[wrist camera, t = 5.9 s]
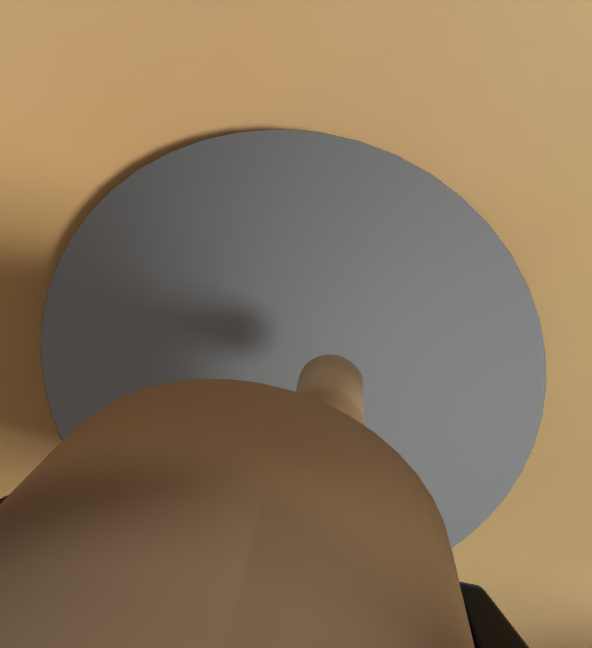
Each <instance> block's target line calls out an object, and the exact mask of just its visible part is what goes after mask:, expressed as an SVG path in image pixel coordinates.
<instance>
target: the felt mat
mask: <svg viewBox="0 0 592 648" xmlns="http://www.w3.org/2000/svg"><path fill="white" fill-rule="evenodd" d="M331 354H332V355H338V356H342V357H344V358H346V359H348V360H350V361H351V362H352V363H353V364H354V365H355V366H356V367H357V368H358V370H359V371H360V373H361V376H362V379H363V400H364V426H366V427H367V428H369V429H370V430H372V431H373V432H375V433H376V434H377V435H378V436H379V437H381V438H382V439H383V440H384V441H385V442H386V443H388V444H389V445H390V446H391V447H392V448H393V449H394V450H396V451H397V452H398V453H399V454H400V455H401V456H402V458H403V459H404V460H405V461H406V462H407V463H408V464H409V465H410V467H411V468H412V469H413V470H414V471H415V472H416V473H417V475H418V476H419V478H420V479H421V481H422V482H423V484H424V485H425V487H426V488H427V490H428V491H429V493H430V494H431V496H432V497H433V499H434V501H435V503H436V506H437V508H438V510H439V512H440V514H441V516H442V519H443V521H444V524H445V528H446V531H447V535H448V538H449V542H450V545H451V548H452V547H453V546H455V545H456V544H458V543H459V542H461V541H462V540H463V539H465V538H466V537H467V536H468V535H470V534H471V533H472V532H473V531H474V530H475V529H476V528H477V527H478V526H480V525H481V524H482V523H483V522H484V521H485V520H486V519H487V518H488V517H489V516H490V515H491V514H492V512H493V511H494V510H495V509H496V508H497V506H498V505H499V504H500V503H501V502H502V501H503V499H504V498H505V497H506V496H507V494H508V493H509V491H510V489H511V488H512V486H513V485H514V483H515V482H516V480H517V478H518V477H519V475H520V474H521V472H522V470H523V468H524V466H525V463H526V461H527V459H528V457H529V454H530V452H531V450H532V448H533V446H534V443H535V439H536V436H537V432H538V429H539V425H540V422H541V418H542V414H543V406H544V398H545V390H546V359H545V347H544V342H543V336H542V331H541V326H540V320H539V317H538V314H537V311H536V308H535V305H534V302H533V299H532V297H531V294H530V291H529V288H528V285H527V283H526V282H525V280H524V278H523V276H522V274H521V272H520V270H519V268H518V266H517V265H516V263H515V261H514V259H513V257H512V255H511V254H510V252H509V251H508V249H507V248H506V247H505V245H504V244H503V243H502V241H501V240H500V239H499V237H498V236H497V235H496V233H495V232H494V231H493V229H492V228H491V227H490V225H489V224H488V223H487V222H486V221H485V220H484V219H483V218H482V217H481V216H480V215H479V214H478V213H477V212H476V211H475V210H474V209H473V208H472V207H471V206H470V205H469V204H468V203H467V202H466V201H465V200H464V199H463V198H462V197H461V196H459V195H458V194H457V193H455V192H454V191H453V190H451V189H450V188H449V187H447V186H446V185H445V184H443V183H442V182H441V181H439V180H438V179H437V178H435V177H434V176H433V175H431V174H430V173H428V172H426V171H424V170H423V169H421V168H419V167H417V166H415V165H413V164H412V163H410V162H408V161H406V160H404V159H402V158H401V157H399V156H397V155H395V154H392V153H389V152H387V151H384V150H381V149H379V148H376V147H373V146H371V145H368V144H365V143H363V142H360V141H356V140H352V139H347V138H343V137H338V136H334V135H330V134H325V133H321V132H309V131H296V130H284V129H276V130H261V131H245V132H238V133H233V134H228V135H224V136H219V137H214V138H209V139H205V140H202V141H199V142H196V143H194V144H191V145H188V146H186V147H183V148H180V149H177V150H175V151H172V152H169V153H168V154H166V155H164V156H162V157H160V158H159V159H157V160H155V161H153V162H151V163H149V164H148V165H146V166H144V167H142V168H140V169H139V170H137V171H136V172H135V173H133V174H132V175H131V176H129V177H128V178H127V179H125V180H124V181H123V182H121V183H120V184H119V185H118V186H116V187H115V188H114V189H112V190H111V191H110V192H109V193H108V194H107V195H106V196H105V197H104V198H103V199H102V200H101V201H100V203H99V204H98V205H97V206H96V207H95V208H94V209H93V210H92V211H91V212H90V213H89V214H88V215H87V217H86V218H85V220H84V221H83V222H82V224H81V225H80V227H79V228H78V229H77V231H76V232H75V234H74V235H73V236H72V238H71V239H70V241H69V243H68V245H67V247H66V249H65V251H64V253H63V255H62V257H61V259H60V261H59V263H58V265H57V267H56V269H55V273H54V276H53V279H52V282H51V285H50V288H49V291H48V294H47V297H46V303H45V309H44V315H43V321H42V332H41V360H42V369H43V378H44V385H45V389H46V393H47V397H48V401H49V406H50V410H51V413H52V415H53V418H54V421H55V423H56V426H57V428H58V431H59V433H60V436H61V438H62V440H64V439H65V438H66V437H67V436H68V435H69V434H70V433H71V432H72V431H73V430H74V429H75V428H76V427H77V426H79V425H80V424H81V423H82V422H83V421H85V420H86V419H87V418H88V417H89V416H91V415H92V414H93V413H95V412H96V411H98V410H100V409H101V408H103V407H105V406H106V405H108V404H110V403H111V402H113V401H115V400H117V399H120V398H122V397H124V396H127V395H129V394H132V393H134V392H136V391H139V390H142V389H146V388H150V387H153V386H157V385H161V384H165V383H170V382H178V381H186V380H194V379H232V380H240V381H249V382H257V383H263V384H267V385H271V386H275V387H279V388H283V389H287V390H291V391H294V392H296V388H297V384H298V380H299V376H300V373H301V371H302V369H303V367H304V366H305V365H306V364H307V363H308V362H309V361H310V360H312V359H314V358H315V357H318V356H321V355H331Z"/></svg>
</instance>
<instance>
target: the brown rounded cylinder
mask: <svg viewBox="0 0 592 648" xmlns="http://www.w3.org/2000/svg"><path fill="white" fill-rule="evenodd" d="M0 648H475V647H474V642H473V638H472V634H471V630H470V626H469V621H468V617H467V613H466V609H465V604H464V600H463V596H462V592H461V588H460V583H459V579H458V575H457V571H456V566H455V562H454V558H453V554H452V550H451V545H450V542H449V538H448V535H447V531H446V528H445V524H444V521H443V519H442V516H441V514H440V512H439V510H438V508H437V506H436V503H435V501H434V499H433V497H432V496H431V494H430V493H429V491H428V490H427V488H426V487H425V485H424V484H423V482H422V481H421V479H420V478H419V476H418V475H417V473H416V472H415V471H414V470H413V469H412V468H411V467H410V465H409V464H408V463H407V462H406V461H405V460H404V459H403V458H402V456H401V455H400V454H399V453H398V452H397V451H396V450H394V449H393V448H392V447H391V446H390V445H389V444H388V443H386V442H385V441H384V440H383V439H382V438H381V437H379V436H378V435H377V434H376V433H375V432H373V431H372V430H370V429H369V428H367V427H366V426H364V400H363V379H362V376H361V373H360V371H359V370H358V368H357V367H356V366H355V365H354V364H353V363H352V362H351V361H350V360H348V359H346V358H344V357H342V356H338V355H332V354H331V355H321V356H318V357H315V358H314V359H312V360H310V361H309V362H308V363H307V364H306V365H305V366H304V367H303V369H302V371H301V373H300V376H299V380H298V384H297V388H296V392H294V391H291V390H287V389H283V388H279V387H275V386H271V385H267V384H263V383H257V382H249V381H240V380H232V379H194V380H186V381H178V382H170V383H165V384H161V385H157V386H153V387H150V388H146V389H142V390H139V391H136V392H134V393H132V394H129V395H127V396H124V397H122V398H120V399H117V400H115V401H113V402H111V403H110V404H108V405H106V406H105V407H103V408H101V409H100V410H98V411H96V412H95V413H93V414H92V415H91V416H89V417H88V418H87V419H86V420H85V421H83V422H82V423H81V424H80V425H79V426H77V427H76V428H75V429H74V430H73V431H72V432H71V433H70V434H69V435H68V436H67V437H66V438H65V439H64V440H63V441H62V442H61V443H60V444H59V445H58V446H57V447H56V448H55V449H54V450H53V451H52V452H51V453H50V454H49V455H48V456H47V457H46V458H45V459H44V460H43V461H42V462H41V463H40V464H39V465H38V466H37V467H36V468H35V469H34V470H33V471H32V472H31V473H30V474H29V475H28V476H27V477H26V478H25V479H24V480H23V481H22V482H21V483H20V484H19V486H18V487H17V488H16V489H15V490H14V491H13V492H12V493H11V494H10V495H9V496H8V497H7V498H6V499H5V500H4V501H3V502H2V503H1V504H0Z"/></svg>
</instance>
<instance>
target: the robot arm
mask: <svg viewBox="0 0 592 648" xmlns="http://www.w3.org/2000/svg"><path fill="white" fill-rule="evenodd" d="M8 496H9V495H8ZM8 496H5V497H3V498H1V499H0V504H1V503H2V502H3V501H4V500H5V499H6V498H7V497H8ZM459 583H460V588H461V592H462V596H463V600H464V604H465V609H466V613H467V617H468V621H469V626H470V630H471V634H472V638H473V642H474V647H475V648H529V647H528V645H527V644H526V643H525V642H524V640H523V639H522V638H521V636H520V635H519V634H518V633H517V631H516V630H515V629H514V627H513V626H512V625H511V624H510V622H509V621H508V620H507V618H506V617H505V616H504V615H503V613H502V612H501V611H500V609H499V608H498V607H497V606H496V604H495V603H494V602H493V600H492V599H491V598H490V597H489V595H488V594H487V593H486V591H485V590H484V589H483V588H481V587H480V586H478V585H474V584H469V583H464V582H459Z"/></svg>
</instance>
